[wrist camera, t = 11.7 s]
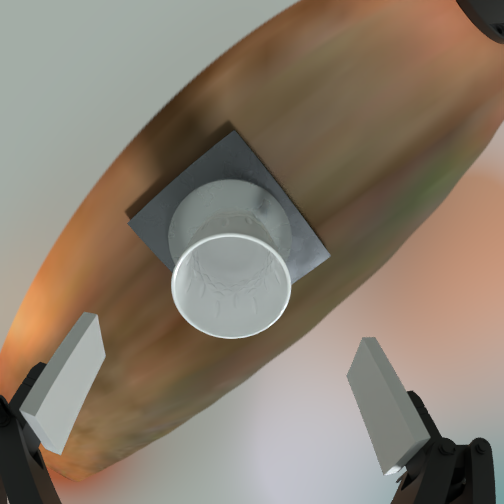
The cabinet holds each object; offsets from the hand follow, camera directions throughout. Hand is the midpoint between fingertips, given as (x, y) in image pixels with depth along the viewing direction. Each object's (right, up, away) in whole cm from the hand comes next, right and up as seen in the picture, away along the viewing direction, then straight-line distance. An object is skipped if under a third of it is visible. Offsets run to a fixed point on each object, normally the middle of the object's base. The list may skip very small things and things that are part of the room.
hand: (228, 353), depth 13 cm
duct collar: (-1, +6, +17) cm, 18 cm away
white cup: (-1, +6, +15) cm, 16 cm away
